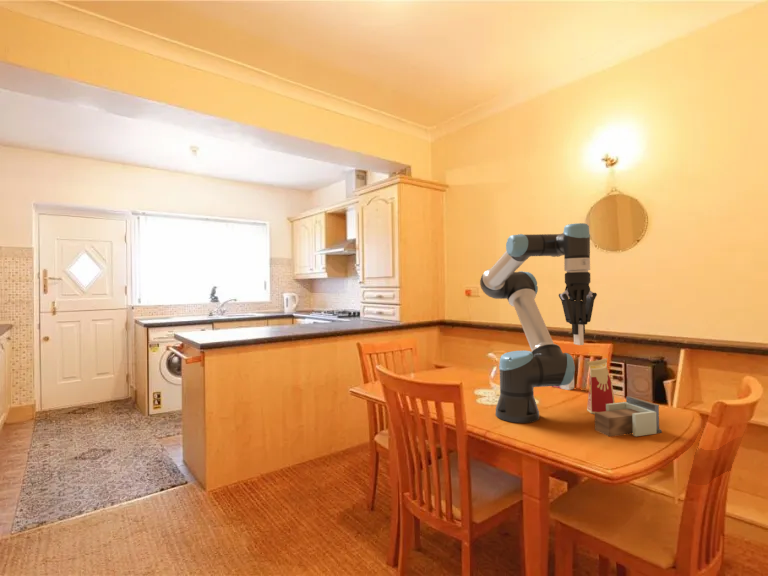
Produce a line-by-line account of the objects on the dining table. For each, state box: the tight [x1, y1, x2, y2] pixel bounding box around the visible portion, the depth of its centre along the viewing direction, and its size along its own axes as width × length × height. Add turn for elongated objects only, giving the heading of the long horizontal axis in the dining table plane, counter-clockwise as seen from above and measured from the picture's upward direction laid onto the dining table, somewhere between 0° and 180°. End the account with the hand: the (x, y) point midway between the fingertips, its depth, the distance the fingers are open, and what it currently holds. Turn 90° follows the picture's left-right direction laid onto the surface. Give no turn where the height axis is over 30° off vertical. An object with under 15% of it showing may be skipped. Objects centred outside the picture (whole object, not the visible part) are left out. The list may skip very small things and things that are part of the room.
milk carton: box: [585, 358, 615, 415], centre depth 152 cm, size 9×9×20 cm
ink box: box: [551, 377, 575, 391], centre depth 187 cm, size 8×5×12 cm, turn 36°
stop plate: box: [625, 395, 663, 434], centre depth 134 cm, size 2×11×9 cm, turn 14°
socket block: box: [606, 401, 658, 437], centre depth 133 cm, size 8×12×7 cm
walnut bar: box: [594, 409, 640, 437], centre depth 131 cm, size 14×6×6 cm, turn 103°
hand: (578, 344), depth 131 cm, fingers closed
